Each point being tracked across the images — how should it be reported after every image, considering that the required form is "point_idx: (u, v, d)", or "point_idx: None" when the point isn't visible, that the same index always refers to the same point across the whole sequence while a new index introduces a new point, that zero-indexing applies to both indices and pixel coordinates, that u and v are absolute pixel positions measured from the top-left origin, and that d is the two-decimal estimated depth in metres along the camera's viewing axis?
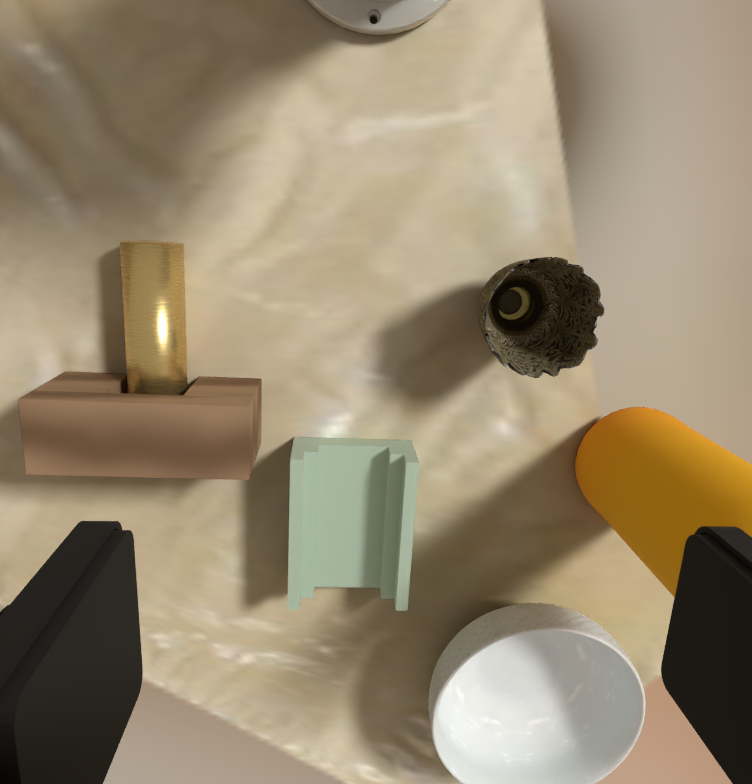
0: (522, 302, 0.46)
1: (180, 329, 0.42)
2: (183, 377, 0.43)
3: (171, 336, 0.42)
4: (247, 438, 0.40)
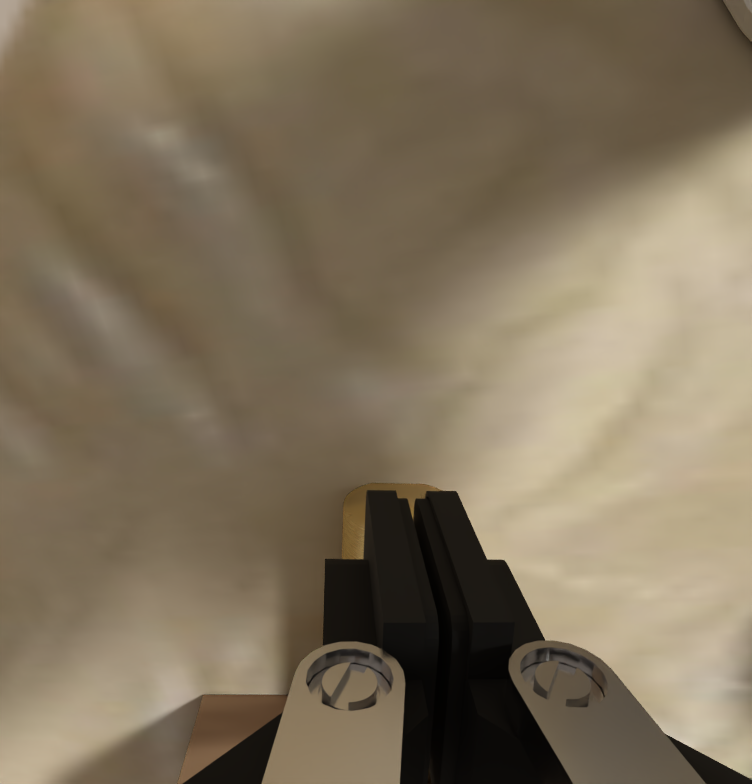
0: None
1: None
2: None
3: None
4: None
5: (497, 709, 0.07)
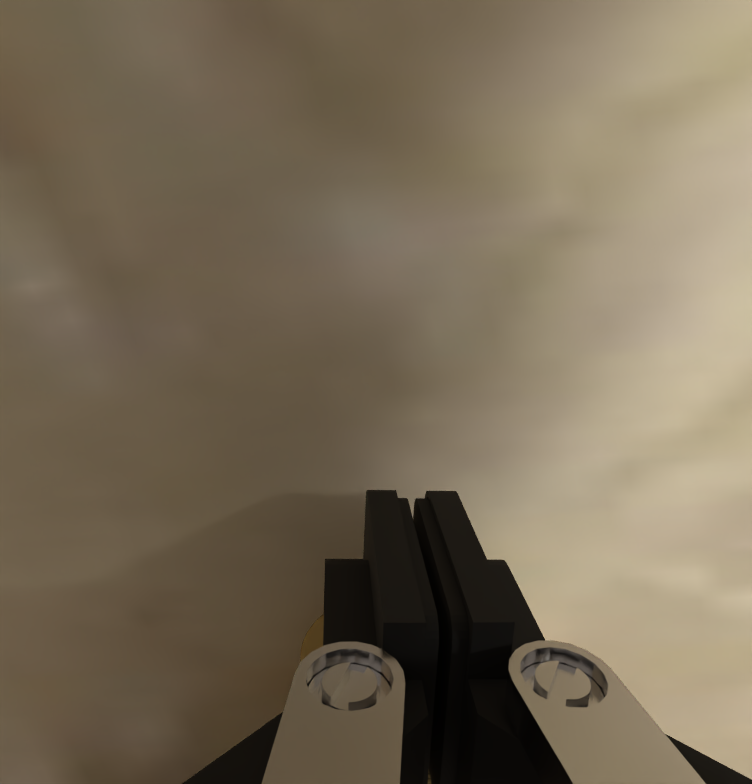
0: None
1: None
2: None
3: None
4: None
5: (497, 709, 0.07)
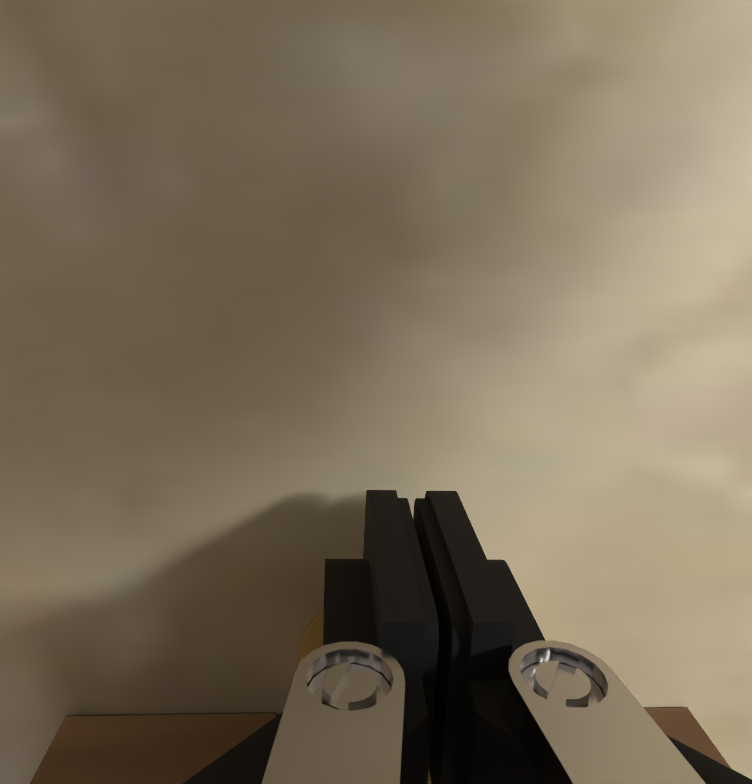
0: None
1: None
2: None
3: None
4: None
5: (497, 709, 0.07)
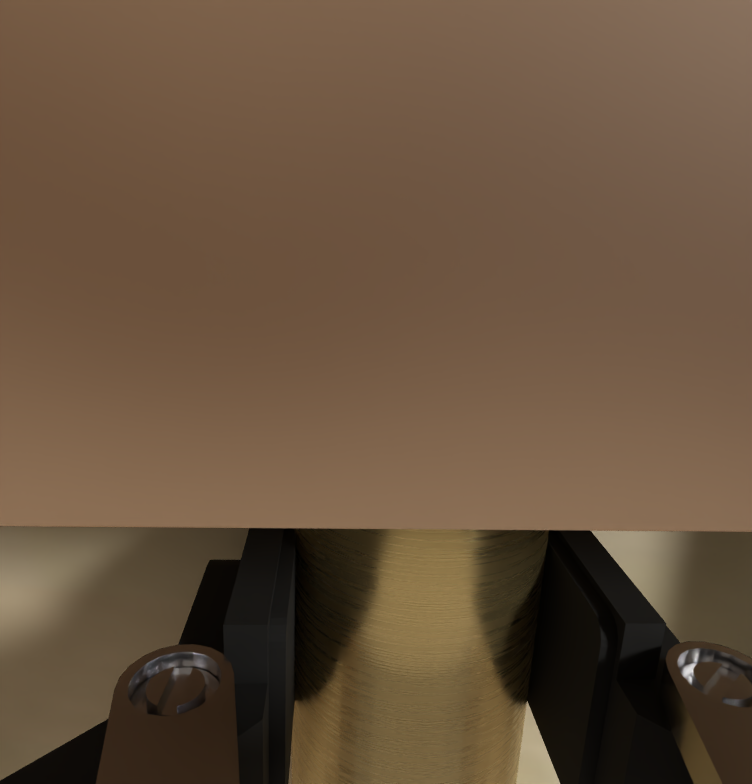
0: None
1: None
2: None
3: None
4: None
5: (655, 709, 0.07)
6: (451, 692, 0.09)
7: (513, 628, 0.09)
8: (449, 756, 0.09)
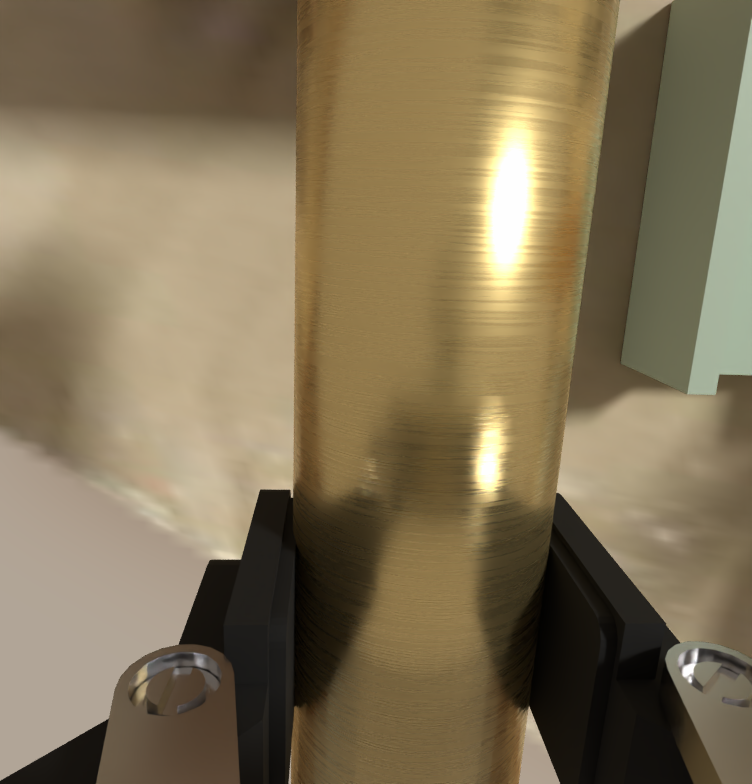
0: None
1: (592, 203, 0.08)
2: (561, 450, 0.09)
3: (566, 231, 0.07)
4: None
5: (655, 709, 0.07)
6: (453, 690, 0.08)
7: (517, 625, 0.09)
8: (452, 754, 0.09)
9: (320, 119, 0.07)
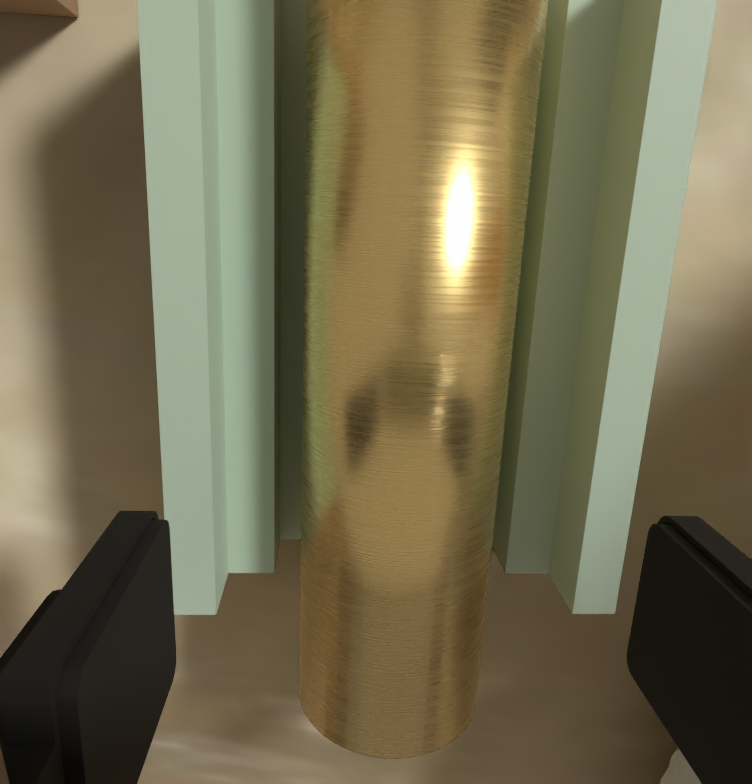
0: None
1: (523, 215, 0.11)
2: (506, 402, 0.12)
3: (501, 236, 0.10)
4: None
5: None
6: (423, 580, 0.11)
7: (471, 532, 0.12)
8: (422, 631, 0.12)
9: (324, 156, 0.10)
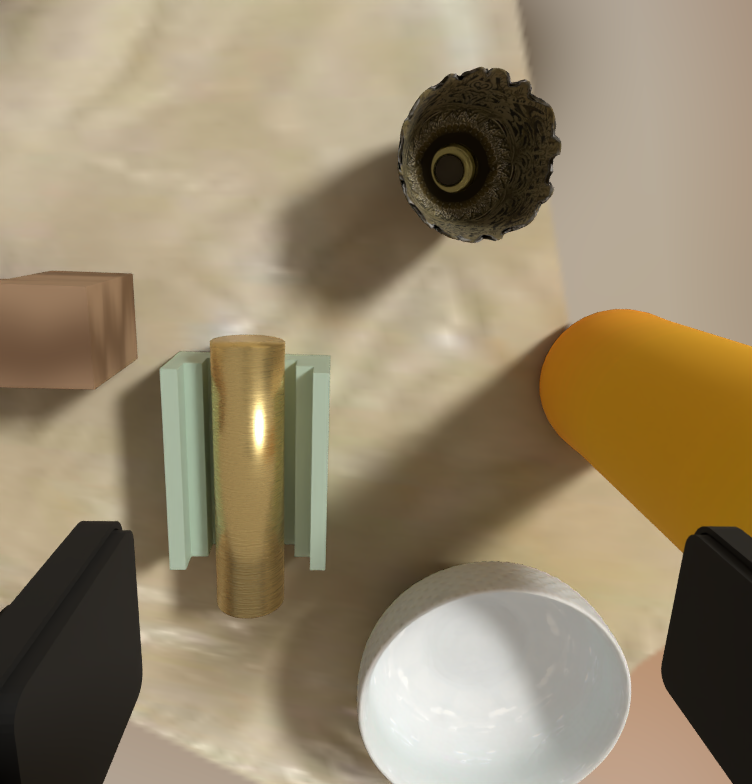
0: (465, 170, 0.35)
1: (278, 445, 0.35)
2: (280, 499, 0.36)
3: (268, 454, 0.34)
4: (87, 331, 0.30)
5: None
6: (251, 557, 0.35)
7: (267, 542, 0.36)
8: (252, 574, 0.36)
9: (215, 431, 0.34)
